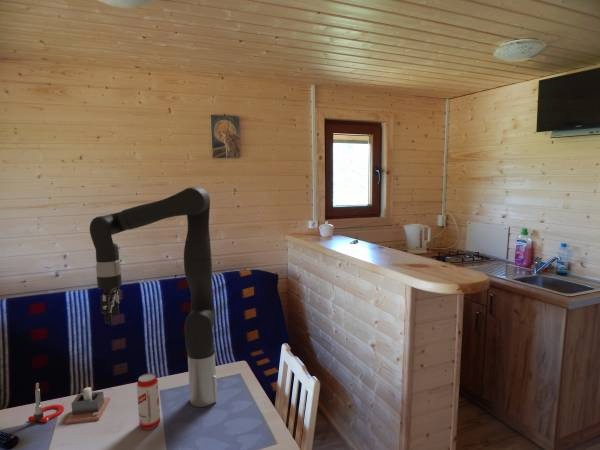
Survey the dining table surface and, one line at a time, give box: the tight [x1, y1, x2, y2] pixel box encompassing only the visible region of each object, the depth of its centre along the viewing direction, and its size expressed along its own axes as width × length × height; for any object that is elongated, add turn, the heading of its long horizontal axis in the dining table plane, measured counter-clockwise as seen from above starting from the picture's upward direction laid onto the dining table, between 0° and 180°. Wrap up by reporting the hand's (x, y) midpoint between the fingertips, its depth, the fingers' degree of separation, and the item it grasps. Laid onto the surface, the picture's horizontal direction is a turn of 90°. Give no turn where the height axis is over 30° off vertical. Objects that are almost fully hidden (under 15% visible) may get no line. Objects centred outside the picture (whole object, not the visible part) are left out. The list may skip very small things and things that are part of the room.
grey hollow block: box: [71, 391, 105, 415], centre depth 131 cm, size 8×6×4 cm
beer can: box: [136, 373, 161, 430], centre depth 123 cm, size 6×6×16 cm
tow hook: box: [28, 382, 65, 423], centre depth 130 cm, size 8×13×9 cm
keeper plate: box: [65, 386, 111, 425], centre depth 131 cm, size 10×12×8 cm
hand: (112, 319), depth 134 cm, fingers open, 8 cm apart
